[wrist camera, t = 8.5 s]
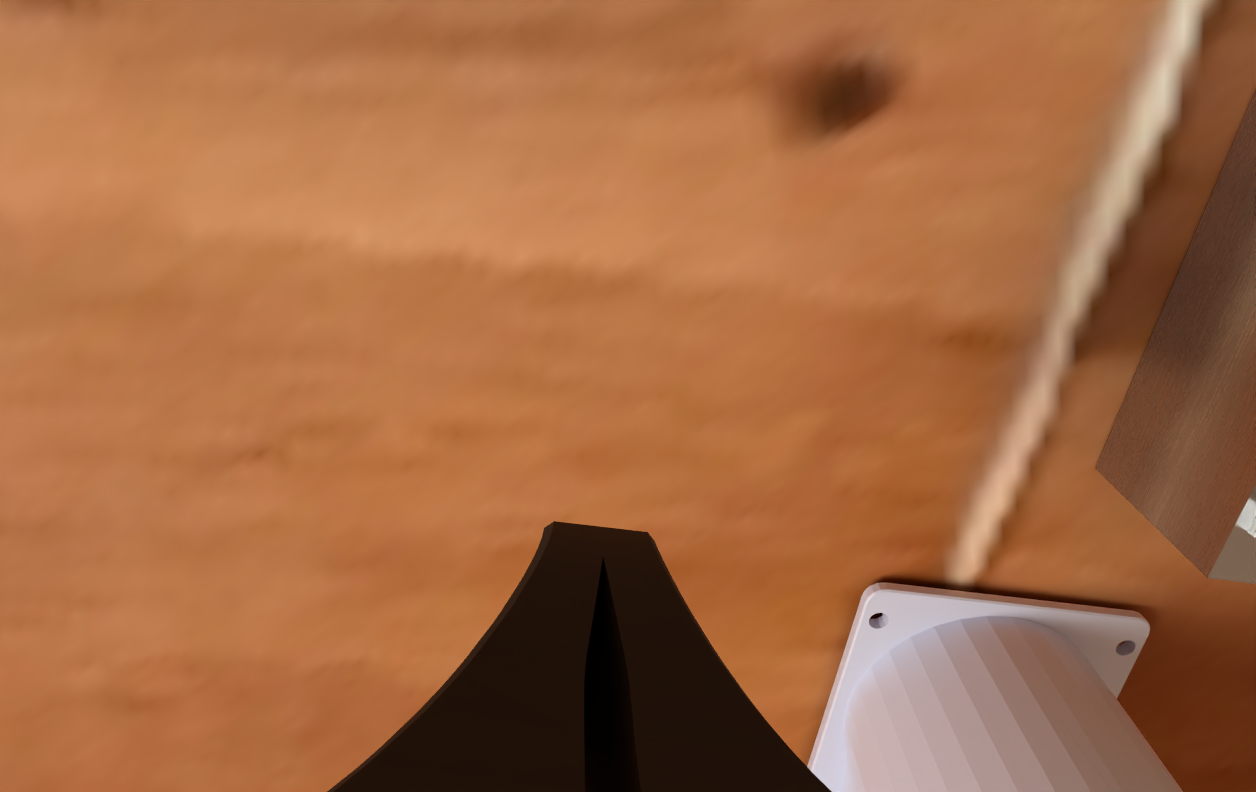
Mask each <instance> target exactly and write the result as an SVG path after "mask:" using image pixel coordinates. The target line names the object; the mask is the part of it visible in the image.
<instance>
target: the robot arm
mask: <svg viewBox="0 0 1256 792" xmlns="http://www.w3.org/2000/svg"><path fill="white" fill-rule="evenodd" d="M876 613H883V615H882V616H881V617H879V618H877V619H870V617H871V616H872V615H874V614H876ZM1149 632H1150V625H1149V623H1148V622H1147V620H1146V619H1145V618H1144V617H1143V616H1142V615H1141V614H1140V613H1139V612H1136V611H1132V610H1123V609H1114V608H1106V607H1097V606H1088V605H1079V604H1070V603H1062V602H1053V601H1044V600H1035V599H1026V598H1018V597H1009V596H1000V595H991V594H982V593H974V592H965V591H956V590H947V589H938V588H930V587H921V586H912V585H903V584H894V583H886V582H884V583H876V584H873V585H871V586H869V587H868V588H867V589H866V590H865V591H864V593H863V595H862V597H861V600H860V603H859V607H858V610H857V613H856V616H855V619H854V622H853V625H852V628H851V631H850V635H849V638H848V641H847V644H846V647H845V650H844V653H843V656H842V660H841V663H840V666H839V669H838V672H837V675H836V678H835V681H834V685H833V688H832V691H831V694H830V697H829V700H828V703H827V706H826V710H825V713H824V716H823V719H822V722H821V725H820V728H819V731H818V735H817V738H816V741H815V744H814V747H813V750H812V753H811V756H810V760H809V763H808V766H806V765H805V764H804V763H803V762H802V761H801V760H800V759H799V758H798V757H797V756H796V755H795V754H794V753H793V751H792V750H791V749H790V748H789V747H788V746H787V745H786V743H785V742H784V741H783V740H782V739H781V738H780V736H779V735H778V734H777V733H776V732H775V731H774V729H773V728H772V727H771V726H770V725H769V724H768V722H767V721H766V720H765V719H764V717H763V716H762V715H761V714H760V712H759V711H758V710H757V709H756V707H755V706H754V705H753V703H752V702H751V701H750V699H749V698H748V697H747V695H746V694H745V693H744V691H743V690H742V689H741V687H740V686H739V684H738V683H737V682H736V680H735V679H734V677H733V676H732V675H731V673H730V672H729V670H728V669H727V668H726V666H725V665H724V663H723V662H722V660H721V659H720V657H719V656H718V654H717V653H716V651H715V650H714V648H713V647H712V645H711V644H710V642H709V640H708V639H707V637H706V636H705V634H704V632H703V631H702V629H701V627H700V626H699V624H698V623H697V621H696V619H695V618H694V616H693V614H692V613H691V611H690V609H689V608H688V606H687V604H686V602H685V601H684V599H683V597H682V595H681V594H680V592H679V590H678V588H677V586H676V584H675V582H674V581H673V579H672V577H671V575H670V573H669V571H668V569H667V567H666V565H665V563H664V561H663V559H662V557H661V555H660V553H659V550H658V548H657V546H656V544H655V541H654V540H653V539H652V537H651V536H650V535H649V533H648V532H641V531H632V530H624V529H615V528H606V527H598V526H589V525H580V524H572V523H563V522H555V521H554V522H553V523H551V524H550V525H548V526H547V527H545V528H544V532H543V536H542V539H541V542H540V544H539V547H538V549H537V551H536V554H535V556H534V558H533V560H532V562H531V563H530V565H529V567H528V569H527V571H526V573H525V574H524V576H523V578H522V580H521V581H520V583H519V585H518V586H517V588H516V589H515V591H514V592H513V594H512V595H511V597H510V599H509V600H508V602H507V603H506V605H505V606H504V608H503V609H502V611H501V613H500V614H499V615H498V617H497V618H496V620H495V621H494V622H493V624H492V625H491V626H490V628H489V629H488V630H487V632H486V633H485V634H484V636H483V637H482V638H481V639H480V641H479V642H478V643H477V645H476V646H475V647H474V649H473V650H472V651H471V652H470V654H469V655H468V656H467V658H466V659H465V660H464V661H463V663H462V664H461V665H460V666H459V667H458V668H457V670H456V671H455V672H454V673H453V674H452V675H451V677H450V678H449V679H448V680H447V681H446V682H445V683H444V684H443V686H442V687H441V688H440V689H439V690H438V691H437V692H436V693H435V694H434V695H433V696H432V697H431V698H430V700H429V701H428V702H427V703H426V704H425V705H424V706H423V707H422V708H421V709H420V710H419V711H418V712H417V713H416V714H415V715H414V716H413V717H412V718H411V719H410V720H409V721H408V722H407V723H406V724H405V725H404V726H403V727H401V728H400V729H399V730H398V731H397V732H396V733H395V734H394V735H393V736H392V737H391V738H390V739H389V740H388V741H387V742H386V743H385V744H384V745H383V746H382V747H380V748H379V749H378V750H377V751H376V752H375V753H374V754H373V755H371V756H370V757H369V758H368V759H367V760H366V761H365V762H363V763H362V764H361V765H360V766H359V767H358V768H356V769H355V770H354V771H353V772H352V773H350V774H349V775H348V776H347V777H345V778H344V779H343V780H341V781H340V782H339V783H338V784H336V785H335V786H334V787H333V788H331V789H330V790H329V791H327V792H1183V791H1182V789H1181V788H1180V787H1179V785H1178V784H1177V782H1176V781H1175V780H1174V778H1173V777H1172V775H1171V774H1170V773H1169V771H1168V770H1167V768H1166V767H1165V766H1164V764H1163V763H1162V762H1161V760H1160V759H1159V757H1158V756H1157V755H1156V753H1155V752H1154V750H1153V749H1152V748H1151V746H1150V745H1149V743H1148V742H1147V741H1146V739H1145V738H1144V736H1143V735H1142V734H1141V732H1140V731H1139V729H1138V728H1137V727H1136V725H1135V724H1134V723H1133V721H1132V720H1131V718H1130V717H1129V716H1128V714H1127V713H1126V711H1125V710H1124V709H1123V707H1122V706H1121V704H1120V703H1119V702H1118V700H1117V697H1118V695H1119V693H1120V691H1121V689H1122V687H1123V685H1124V683H1125V681H1126V679H1127V677H1128V675H1129V673H1130V671H1131V669H1132V667H1133V665H1134V663H1135V661H1136V659H1137V657H1138V655H1139V653H1140V651H1141V649H1142V647H1143V645H1144V643H1145V641H1146V639H1147V637H1148V635H1149ZM1123 641H1125V642H1124V643H1123V644H1121V645H1118V644H1119V643H1121V642H1123Z"/></svg>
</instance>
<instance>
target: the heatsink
mask: <svg viewBox="0 0 1256 792" xmlns="http://www.w3.org/2000/svg"><path fill="white" fill-rule="evenodd" d="M1096 469H1097V470H1098V471H1099V472H1100V473H1101V474H1102V475H1103V476H1104V477H1105V478H1106V479H1107V480H1108V481H1109V482H1110V483H1111V484H1112V485H1113V486H1114V487H1115V488H1116V489H1117V490H1118V491H1119V492H1120V493H1121V494H1122V495H1123V496H1124V497H1125V498H1126V499H1127V500H1128V501H1129V502H1130V503H1131V504H1132V505H1133V506H1134V507H1135V508H1136V509H1137V510H1139V511H1140V512H1141V513H1142V514H1143V515H1144V516H1145V517H1146V518H1147V519H1148V520H1149V521H1150V522H1151V523H1152V524H1153V525H1154V526H1155V527H1156V528H1157V529H1158V530H1159V531H1160V532H1161V533H1162V534H1163V535H1164V536H1165V537H1166V538H1167V539H1168V540H1169V541H1170V542H1171V543H1172V544H1173V545H1174V546H1175V547H1176V548H1177V549H1178V550H1179V551H1180V552H1181V553H1182V554H1183V555H1184V556H1186V557H1187V558H1188V559H1189V560H1190V561H1191V562H1192V563H1193V564H1194V565H1195V566H1196V567H1197V568H1198V569H1199V570H1200V571H1201V572H1202V573H1203V574H1204V575H1205V576H1206V577H1207V578H1211V579H1220V580H1228V581H1237V582H1245V583H1254V584H1256V91H1255V93H1254V96H1253V98H1252V101H1251V103H1250V105H1249V108H1248V110H1247V112H1246V115H1245V117H1244V119H1243V122H1242V124H1241V126H1240V129H1239V131H1238V133H1237V136H1236V138H1235V141H1234V143H1233V145H1232V148H1231V150H1230V152H1229V155H1228V157H1227V159H1226V162H1225V164H1224V166H1223V169H1222V171H1221V173H1220V176H1219V178H1218V181H1217V183H1216V185H1215V188H1214V190H1213V192H1212V195H1211V197H1210V199H1209V202H1208V204H1207V206H1206V209H1205V211H1204V214H1203V216H1202V218H1201V221H1200V223H1199V225H1198V228H1197V230H1196V232H1195V235H1194V237H1193V239H1192V242H1191V244H1190V246H1189V249H1188V251H1187V254H1186V256H1185V258H1184V261H1183V263H1182V265H1181V268H1180V270H1179V272H1178V275H1177V277H1176V279H1175V282H1174V284H1173V286H1172V289H1171V291H1170V294H1169V296H1168V298H1167V301H1166V303H1165V305H1164V308H1163V310H1162V312H1161V315H1160V317H1159V319H1158V322H1157V324H1156V327H1155V329H1154V331H1153V334H1152V336H1151V338H1150V341H1149V343H1148V345H1147V348H1146V350H1145V352H1144V355H1143V357H1142V359H1141V362H1140V364H1139V367H1138V369H1137V371H1136V374H1135V376H1134V378H1133V381H1132V383H1131V385H1130V388H1129V390H1128V392H1127V395H1126V397H1125V399H1124V402H1123V404H1122V407H1121V409H1120V411H1119V414H1118V416H1117V418H1116V421H1115V423H1114V425H1113V428H1112V430H1111V432H1110V435H1109V437H1108V440H1107V442H1106V444H1105V447H1104V449H1103V451H1102V454H1101V456H1100V458H1099V461H1098V463H1097V465H1096Z"/></svg>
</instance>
